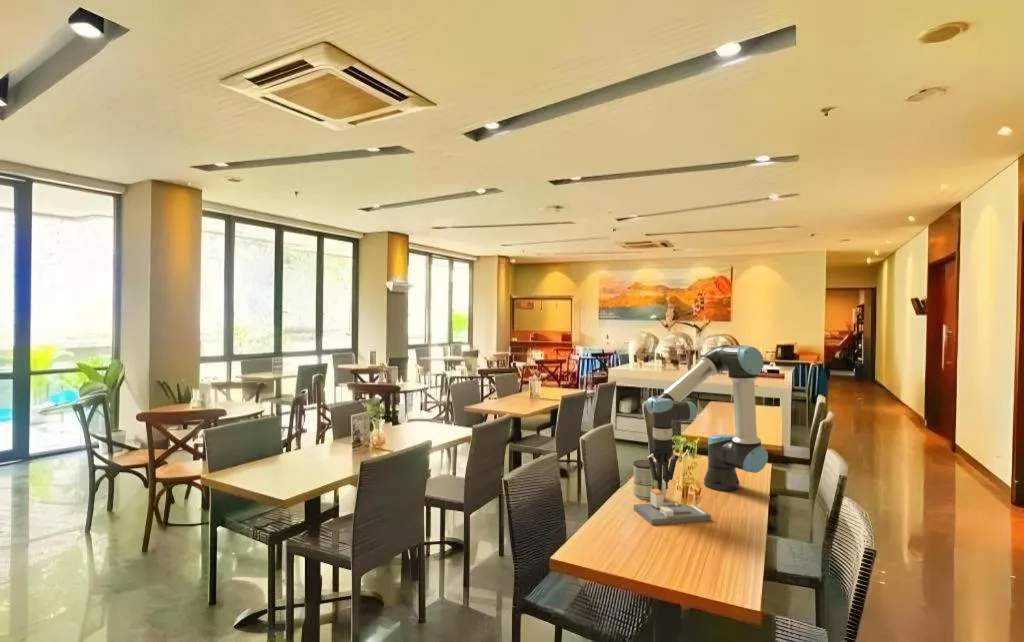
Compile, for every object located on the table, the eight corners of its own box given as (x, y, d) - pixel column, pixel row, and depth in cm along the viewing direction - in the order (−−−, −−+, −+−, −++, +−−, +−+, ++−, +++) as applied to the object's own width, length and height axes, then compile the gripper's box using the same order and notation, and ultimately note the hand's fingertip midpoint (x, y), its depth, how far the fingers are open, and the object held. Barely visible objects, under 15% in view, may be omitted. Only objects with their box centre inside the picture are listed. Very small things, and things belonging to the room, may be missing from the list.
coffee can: (631, 491, 238) (631, 459, 238) (655, 492, 237) (655, 460, 237) (634, 499, 227) (634, 465, 227) (659, 500, 226) (659, 466, 226)
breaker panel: (688, 505, 220) (689, 495, 220) (710, 520, 204) (710, 509, 204) (633, 509, 215) (633, 499, 215) (651, 524, 199) (651, 514, 199)
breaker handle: (657, 503, 215) (657, 488, 215) (663, 507, 210) (663, 492, 210) (650, 503, 215) (650, 489, 215) (656, 508, 210) (656, 493, 210)
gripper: (651, 441, 208) (651, 502, 208) (682, 439, 210) (682, 499, 211) (643, 436, 215) (643, 495, 216) (673, 435, 218) (673, 493, 218)
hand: (662, 497), depth 213 cm, fingers closed
